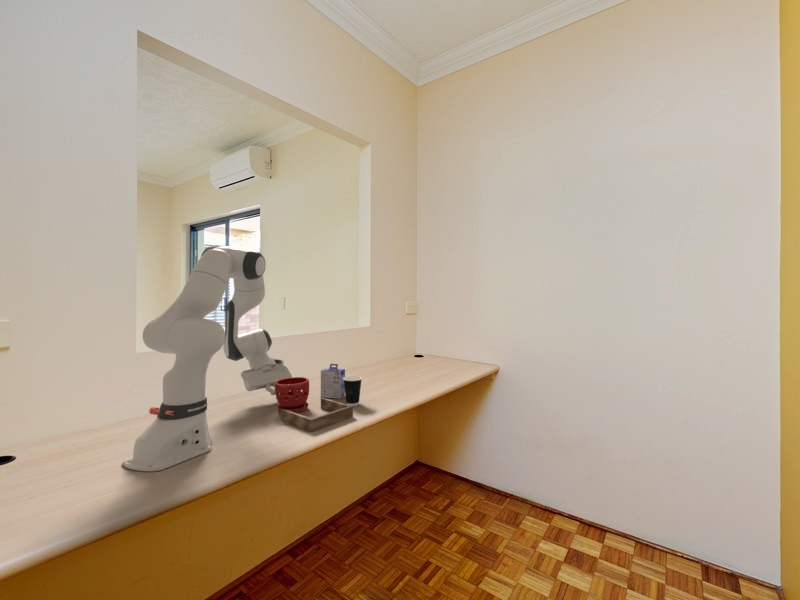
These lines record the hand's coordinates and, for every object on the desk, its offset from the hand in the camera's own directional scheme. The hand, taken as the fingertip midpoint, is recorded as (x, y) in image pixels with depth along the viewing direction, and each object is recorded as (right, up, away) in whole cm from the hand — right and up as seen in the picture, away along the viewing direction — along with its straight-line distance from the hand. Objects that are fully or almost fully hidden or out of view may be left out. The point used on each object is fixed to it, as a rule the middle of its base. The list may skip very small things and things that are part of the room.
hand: (275, 394), depth 153 cm
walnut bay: (+21, -5, -16) cm, 27 cm away
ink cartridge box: (+22, -4, +12) cm, 25 cm away
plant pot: (+9, -5, -7) cm, 12 cm away
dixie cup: (+32, -5, +1) cm, 32 cm away
